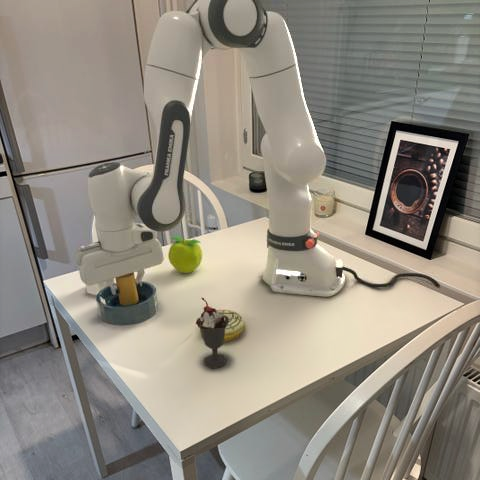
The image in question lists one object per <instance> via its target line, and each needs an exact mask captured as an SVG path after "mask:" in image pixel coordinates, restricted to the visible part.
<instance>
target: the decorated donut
mask: <svg viewBox="0 0 480 480" xmlns="http://www.w3.org/2000/svg"><path fill="white" fill-rule="evenodd" d="M217 310H218V311H219V313H220V314H222V315H224V316H227V317H228V318H229V323H228V325H227V326H226V328H225V337H224V342H229V341H233V340H234V339H236V338H237V337H239V336H240V335H241V334H242V333H243V331H244V329H245V324H246V321H245V318H244V317H243V315H242V314H240V313H238V312H236V311H234V310H229V309H221V308H220V309H217ZM198 329H199V331H200V333H201V334H202V331H201V329H200V328H199V327H198Z"/></svg>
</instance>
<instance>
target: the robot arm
mask: <svg viewBox="0 0 480 480" xmlns="http://www.w3.org/2000/svg"><path fill="white" fill-rule="evenodd" d="M149 45H150V46H149V49H148V53H147V58H146V64H145V68H144V69H145V70H144V76H143V100H144V103H145V106H146V108H147V109H148V111H149V113H150V115H151V118H152V120H153V122H154V126H155V130H156V147H155V155H154V162H153V169H152V172H149V171H142V170H141V171H140V170H135V169H132V168H129V167H128V166H125V165H123V164H122V163H121V162H115V161H112V162H106V163H102V164H99V165H98V166H96V167H94V168H92V169H91V171H90V172H89V173H88V176H87V191H88V198H89V203H90V207H91V210H92V213H93V215H94V218H95V220H94V229H95V233H96V237H97V241H95V242H91V243H88V244H84V245H80V246H79V248H78V249H76V251H75V253H74V259H75V262H76V264H77V265H78V273H79V277H80V278H79V279H80V280H81V281H82V282H83V284H84V285H85V286H86V285H88V286H90V285H94V284H97V283H100V282H104V281H105V282H106V283H107V284H108V285H109V286H110V288H111V292H112V294H113V295H115V294H118V293H120V292H119V287H118V286H117V285H112V284H111V283H113V280H112V279H114V278H117V277H120V276H123V275H127V274H130V273H133V272H134V273H137V274H136V277H135V282H136V288H137V287H140V286H142V281H143V278H144V276H145V274H146V272H145V270H147V269H149V268H153V267H156V266H160V265H162V264H163V262H164V260H165V255H164V251H163V246H162V244H161V242H160V240H159V239H157V237H158V232H159V233H162V232H168V231H170V230H172V229H175V228H176V227H177V226H178V225H179V224H180V223H181V222H182V220H183V219H184V217H185V214H186V205H187V204H186V198H185V193H184V177H185V169H186V163H187V156H188V149H189V142H190V134H191V122H192V116H193V109H194V104H195V98H196V93H197V89H198V83H199V80H200V75H201V68H202V64H203V62H204V59H205V57H206V56H207V53H209V51H210V50H220V51H227V50H231V49H237V50H238V52H240V53H241V56H242V57H243V60H244V62H245V66H246V70H247V76H248V79H249V84H250V89H251V92H252V96H253V100H254V104H255V108H256V112H257V115H258V117H259V120H260V122H261V124H262V125H263V129H264V131H265V133H264V134H263V136H262V139H261V141H260V154H261V156H262V162H263V170H264V171H263V172H264V178H265V179H264V180H265V185H266V193H267V200H268V201H267V202H268V203H267V204H268V228H267V230H266V247H267V256H266V263H265V264H266V265H265V268H264V272H263V275H262V280H263V281H264V283H266V284H267V285H268V286H270V289H271V290H272V291H273V292H274V293H280V294H281V293H282V294H293V295H303V296H312V297H324V298H329V297H332V296H334V295H337V293H339V292H340V291H341V290H342V289H343V287H344V285H345V283H346V277H345V274H344V272H347V273H350V274H351V275H352V276H353V278H354V279H355V280H356V281H357V282H358V283H360V284H362V285H364V286H367V287H370V288H387V287H389V286H392V284H393V283H394V282H395V281H396V280H397V279H399V278H407V277H409V278H410V277H413V278H414V277H416V278H422V279H425V280H427V281H429V282H431V283H432V284H433V285H434V286H435V287H441V284H440V283H439V282H438V281H437V280H436V279H435V278H433V277H432V276H430V275H427V274H424V273H419V272H402V273H397V274H395V275H394V276H392V277H391V279H390V280H389V281H388V282H385V283H372V282H369V281H366V280H363V279H361V278H360V277H359V276H358V274H357V272H356V271H355V270H353V269H351V268H349V267H346V266H344V262H343V261H344V260H343V259H335V257H334V256H333V255H331V253H330V252H329V251H327V250H326V249H324V248H323V247H322V246H321V245H320V244H319V243H318V238H319V233H320V231H317V232H315V231H313V229H312V228H311V224H312V206H313V205H312V204H313V202H312V196H311V193H310V190H309V185H312V184H313V183H315V182H316V181H318V180H319V179H320V178H321V176H322V175H323V174H324V172H325V169H326V166H327V158H326V154H325V151H324V150H323V148H322V146H321V143H320V141H319V138H318V136H317V131H316V130H315V126H314V123H313V120H312V117H311V115H310V111H309V109H308V106H307V103H306V100H305V96H304V91H303V86H302V81H301V76H300V70H299V66H298V59H297V55H296V51H295V47H294V43H293V39H292V37H291V34H290V32H289V28H288V26H287V24H286V21H285V18H284V17H283V16H282V15H281V14H279V13H278V12H275V11H271V10H270V11H269V10H268V11H266V9H265V8H264V7H263V6H262V4H261V3H260V1H259V0H194V1H193V3H192V4H191V5H190V6H189V8H188V9H187V10H186V11H181V10H170V11H167V12H164V13H163V14H162V15H161V16H160V17H159V19H158V21H157V23H156V27H155V29H154V32H153V35H152V38H151V41H150V44H149ZM137 218H139V219H140V220H141V223H140V222H135V220H136V219H137ZM80 250H81V251H80Z"/></svg>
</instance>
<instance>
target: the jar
mask: <svg viewBox="0 0 480 480" xmlns="http://www.w3.org/2000/svg"><path fill="white" fill-rule="evenodd" d="M80 251H81V250H80ZM112 280H113V283H111V284H114V283H116V280H115V278H114V279H112ZM106 286H109V285H108V284H107V283H106V282H105V281H104V282H100V283H97V284H94V285H90V286H88V285H86V284H85V289H86V293H87V294H90V295H95V296H97V294H98V293H99V291H100V290H102V289H103V288H105V287H106Z"/></svg>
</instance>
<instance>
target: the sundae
mask: <svg viewBox="0 0 480 480" xmlns="http://www.w3.org/2000/svg"><path fill="white" fill-rule="evenodd" d="M200 299H201V300H202V301H204V302H205V304H206V305H205V306H204V307H203V311H202V312H201V313H200V316H199V317H197V319H196V320H195V324H196V326H197V327H198V329H199V328H200V329H201V331H202V333H201V336H202V339H203V342H204V345H205V346H206V347H207V348H208V349H210V350H211V353H212V354H209V355H207V356H206V357H205V358H204V360H203V364H204V365H205V366H206V367H208V368H211V369H219V368H222V367H224V366H226V365H227V363H228V358H227V357H226V356H225V355H224V354H220V353H219V352H218V350H219V349H220V348H221V347H222V346H223V345H224V342H225V341H224V337H225V328H226V326H227V325H228V323H229V318H228V317H227V316H224V315H222V314H220V313H219V311H218V310H219V309H216V308H213V307H211V306H209V304H208V302H207V300H206V299H205V298H204V297H200ZM200 329H199V330H200ZM201 331H200V332H201Z"/></svg>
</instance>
